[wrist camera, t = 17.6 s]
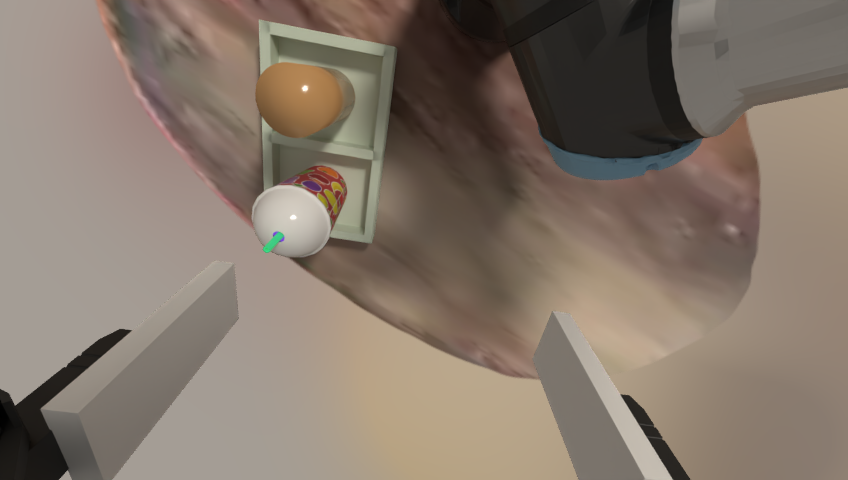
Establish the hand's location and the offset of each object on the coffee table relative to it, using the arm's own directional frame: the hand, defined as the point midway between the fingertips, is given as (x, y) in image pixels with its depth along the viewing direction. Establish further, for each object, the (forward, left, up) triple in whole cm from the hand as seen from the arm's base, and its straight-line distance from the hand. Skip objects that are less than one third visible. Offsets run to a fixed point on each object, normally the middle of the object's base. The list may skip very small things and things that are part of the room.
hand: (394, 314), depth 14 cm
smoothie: (+7, -12, -36) cm, 39 cm away
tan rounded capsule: (-5, -12, -36) cm, 38 cm away
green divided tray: (+1, -12, -37) cm, 39 cm away
